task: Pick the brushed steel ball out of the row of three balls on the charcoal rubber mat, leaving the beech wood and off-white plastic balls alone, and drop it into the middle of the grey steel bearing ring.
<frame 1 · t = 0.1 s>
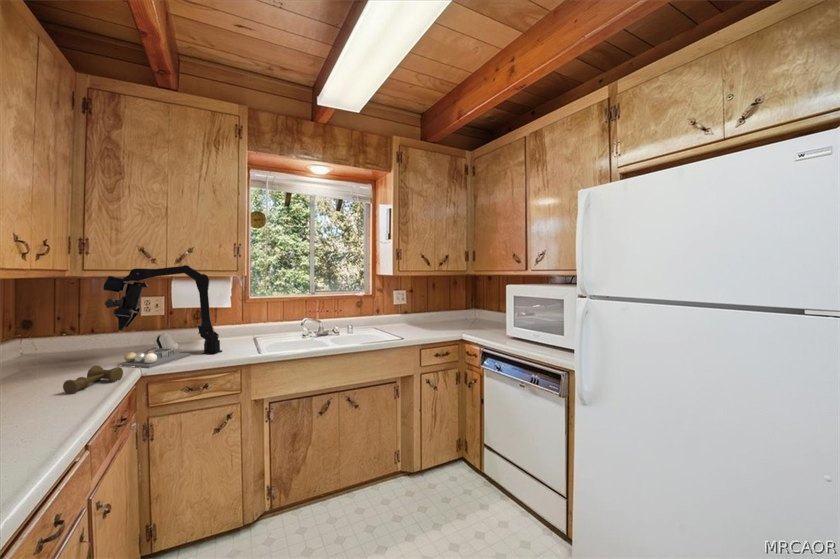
hand: (123, 328, 159), 15 cm above the countertop, tool pointing down, fingers open, 9 cm apart
kendama: (96, 385, 130), on the countertop
steel ball: (140, 357, 154), point 3 cm above the countertop, touching mat
race: (162, 357, 166), resting on mat
wood ball: (130, 357, 155), point 3 cm above the countertop, touching mat
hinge: (166, 351, 181), on the countertop
mat: (156, 360, 162), on the countertop
plastic ball: (150, 358, 153), point 3 cm above the countertop, touching mat
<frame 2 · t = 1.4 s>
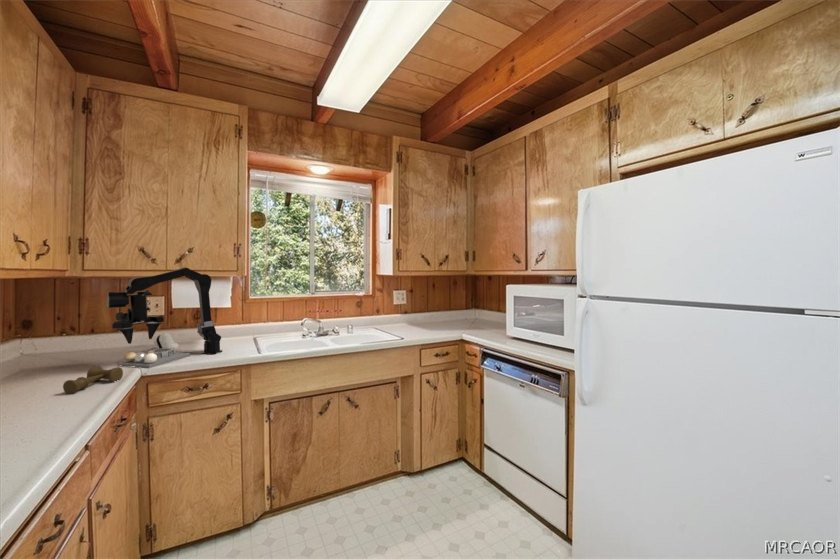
hand: (140, 341, 154), 11 cm above the countertop, tool pointing down, fingers open, 9 cm apart
nothing on the countertop moved.
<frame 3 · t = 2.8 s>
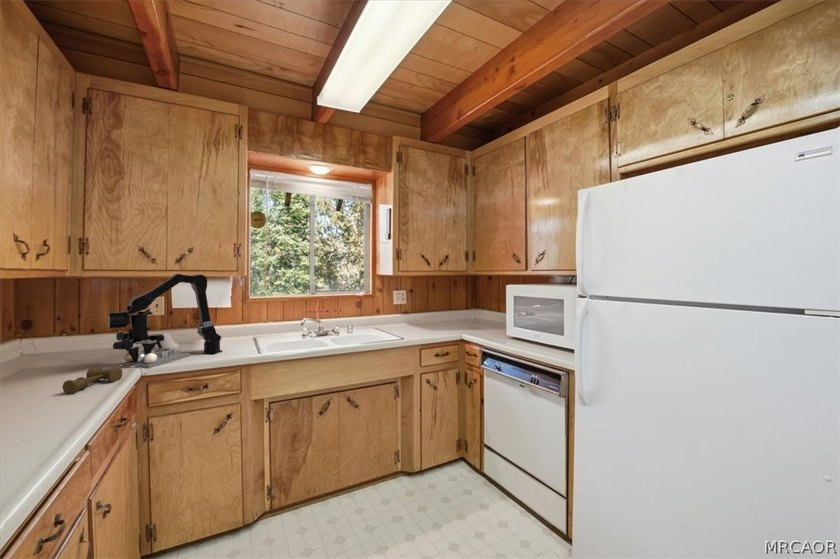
hand: (140, 360, 154), 2 cm above the countertop, tool pointing down, fingers closed on steel ball, 4 cm apart
steel ball: (140, 357, 154), point 3 cm above the countertop, touching gripper, mat
everything else where it was.
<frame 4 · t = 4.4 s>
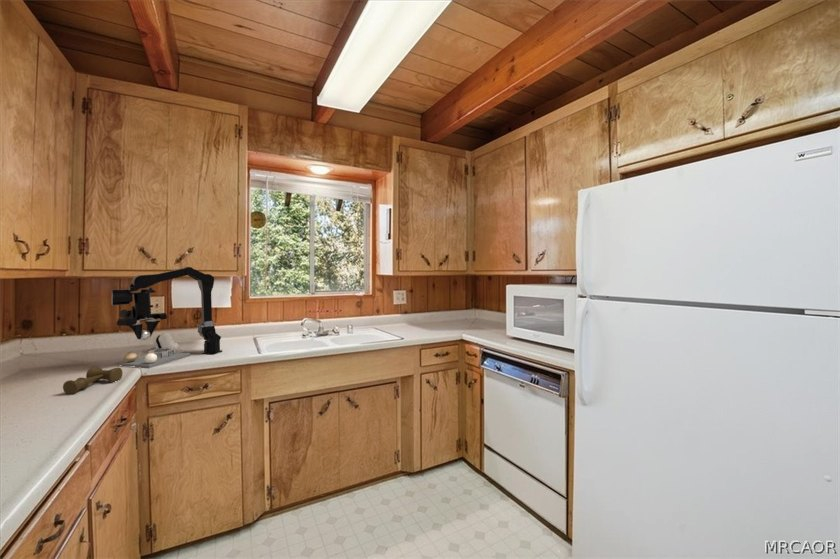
hand: (144, 338, 156), 12 cm above the countertop, tool pointing down, fingers closed on steel ball, 4 cm apart
steel ball: (144, 335, 156), point 13 cm above the countertop, touching gripper
everything else where it was.
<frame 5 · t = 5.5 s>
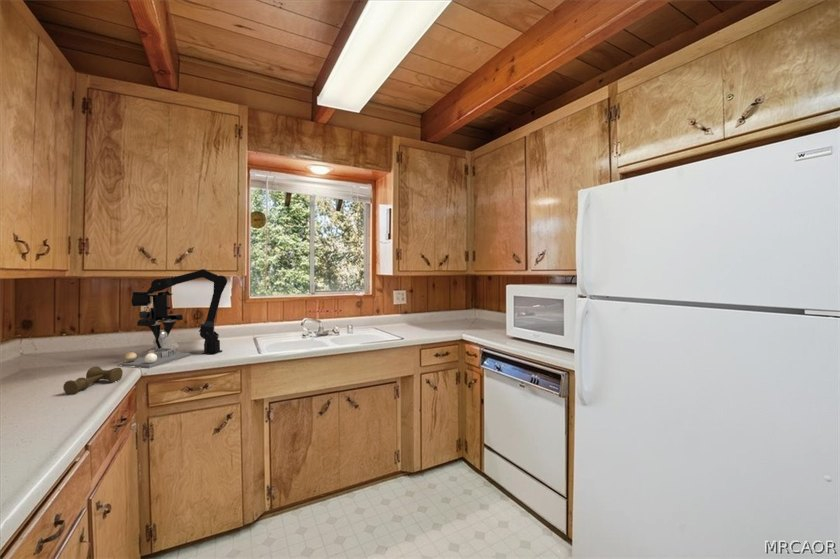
hand: (161, 337, 166), 10 cm above the countertop, tool pointing down, fingers closed on steel ball, 4 cm apart
steel ball: (161, 334, 166), point 11 cm above the countertop, touching gripper
everything else where it was.
when the fingers open (6 cm above the countertop, at t = 6.4 s): steel ball drops 4 cm, resting on mat.
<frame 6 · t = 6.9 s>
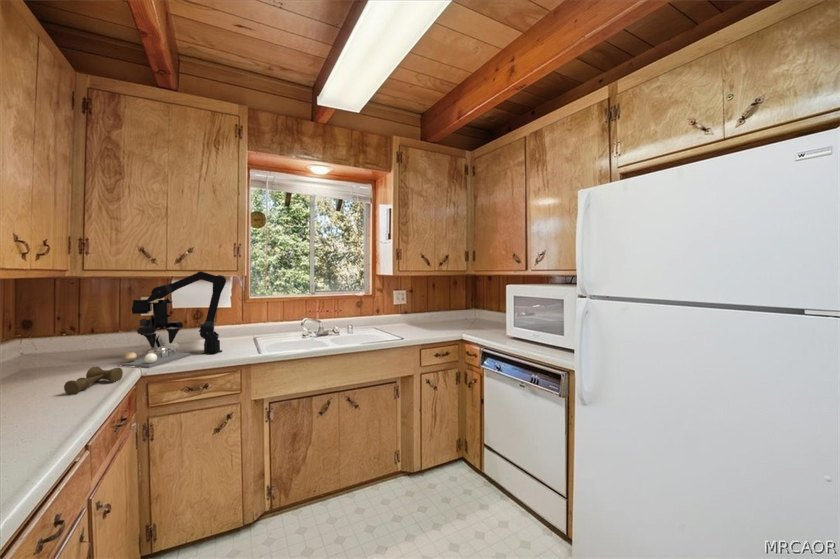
hand: (161, 345, 166), 6 cm above the countertop, tool pointing down, fingers open, 9 cm apart
steel ball: (162, 350, 166), point 3 cm above the countertop, touching mat
everything else where it was.
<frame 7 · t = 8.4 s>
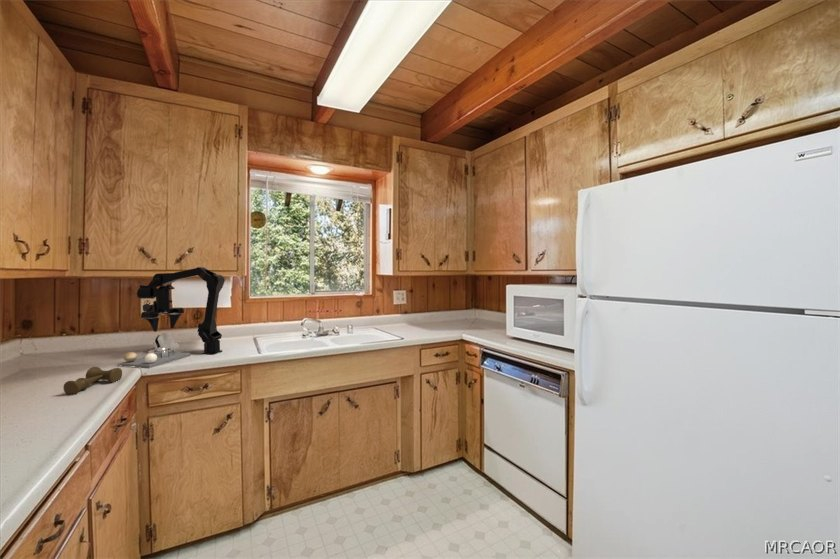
hand: (163, 329, 173), 12 cm above the countertop, tool pointing down, fingers open, 9 cm apart
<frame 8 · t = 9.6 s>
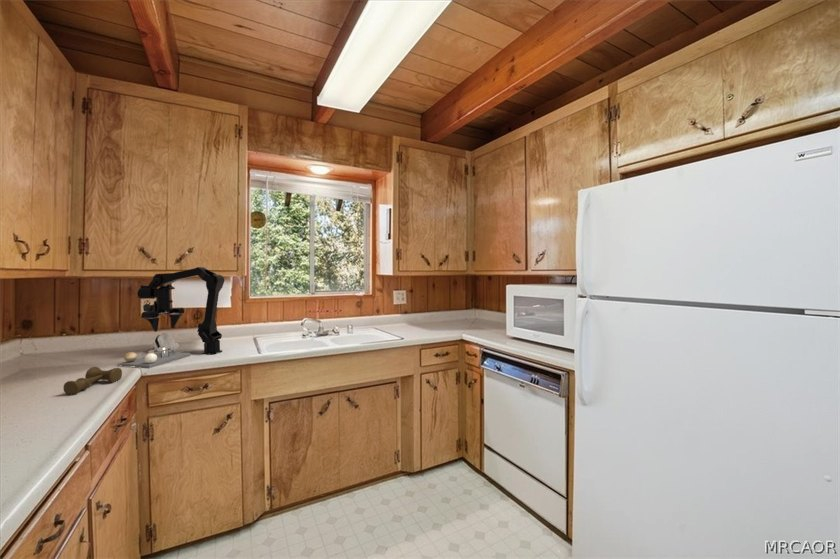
hand: (164, 329, 174), 12 cm above the countertop, tool pointing down, fingers open, 9 cm apart
at the end: steel ball 0.3 cm off-centre on the race, point 3.4 cm above the race's base; plastic ball moved 0.0 cm from its start; wood ball moved 0.0 cm from its start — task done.
